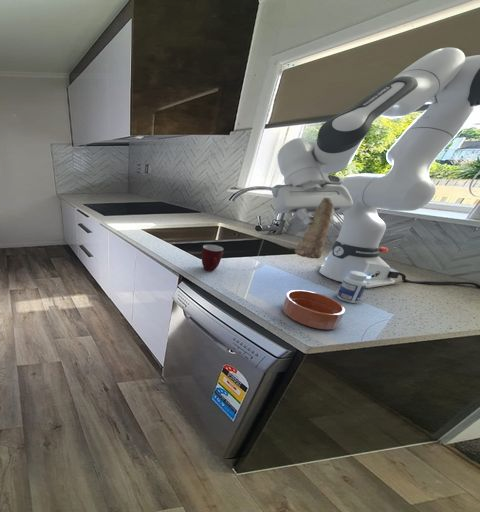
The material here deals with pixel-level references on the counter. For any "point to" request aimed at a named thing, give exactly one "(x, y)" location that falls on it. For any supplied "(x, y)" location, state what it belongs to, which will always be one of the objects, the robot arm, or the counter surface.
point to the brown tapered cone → (316, 231)
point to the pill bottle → (352, 287)
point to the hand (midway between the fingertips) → (319, 223)
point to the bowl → (313, 309)
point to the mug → (211, 256)
